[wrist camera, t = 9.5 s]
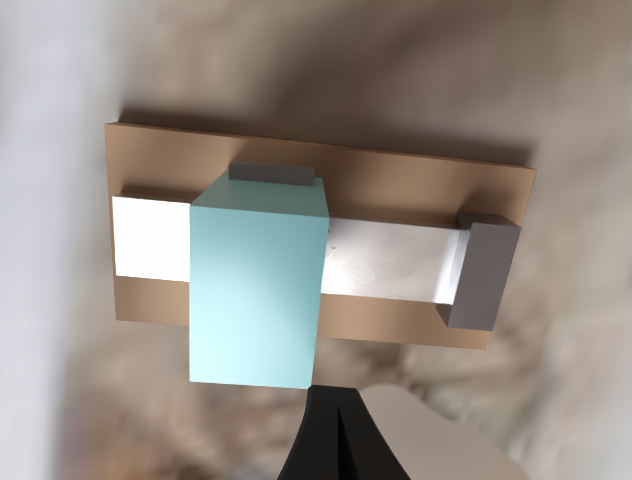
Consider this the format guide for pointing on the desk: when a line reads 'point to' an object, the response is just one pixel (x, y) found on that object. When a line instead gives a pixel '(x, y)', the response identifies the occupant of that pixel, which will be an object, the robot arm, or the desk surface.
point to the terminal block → (256, 275)
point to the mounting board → (342, 197)
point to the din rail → (351, 255)
